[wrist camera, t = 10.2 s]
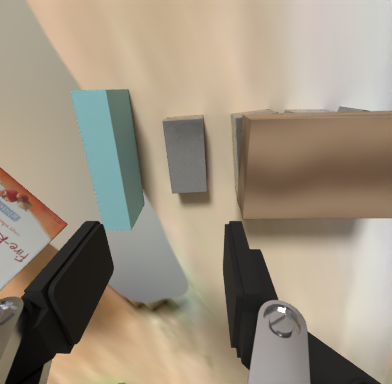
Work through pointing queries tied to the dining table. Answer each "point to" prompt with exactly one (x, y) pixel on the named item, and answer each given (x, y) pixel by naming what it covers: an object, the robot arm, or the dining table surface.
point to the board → (316, 165)
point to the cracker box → (22, 227)
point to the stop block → (111, 154)
